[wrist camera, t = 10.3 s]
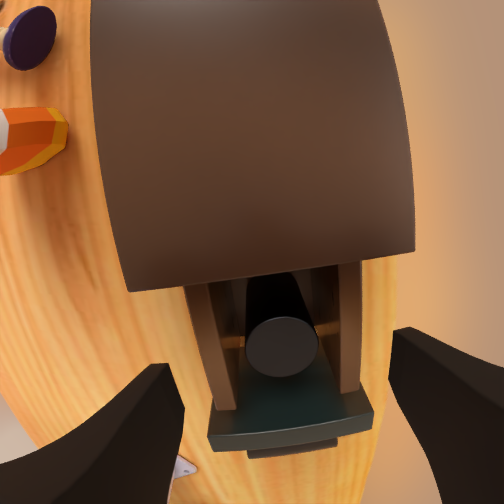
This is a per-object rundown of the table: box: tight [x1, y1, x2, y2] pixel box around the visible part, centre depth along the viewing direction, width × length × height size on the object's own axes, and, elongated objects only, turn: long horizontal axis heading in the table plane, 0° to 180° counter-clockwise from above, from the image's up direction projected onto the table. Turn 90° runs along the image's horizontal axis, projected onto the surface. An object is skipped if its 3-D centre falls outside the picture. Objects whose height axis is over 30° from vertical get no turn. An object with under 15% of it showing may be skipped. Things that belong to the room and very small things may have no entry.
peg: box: [245, 272, 319, 377], centre depth 13 cm, size 3×3×5 cm
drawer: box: [183, 261, 374, 459], centre depth 13 cm, size 17×7×7 cm, turn 8°
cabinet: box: [90, 0, 415, 292], centre depth 10 cm, size 14×8×9 cm, turn 8°
